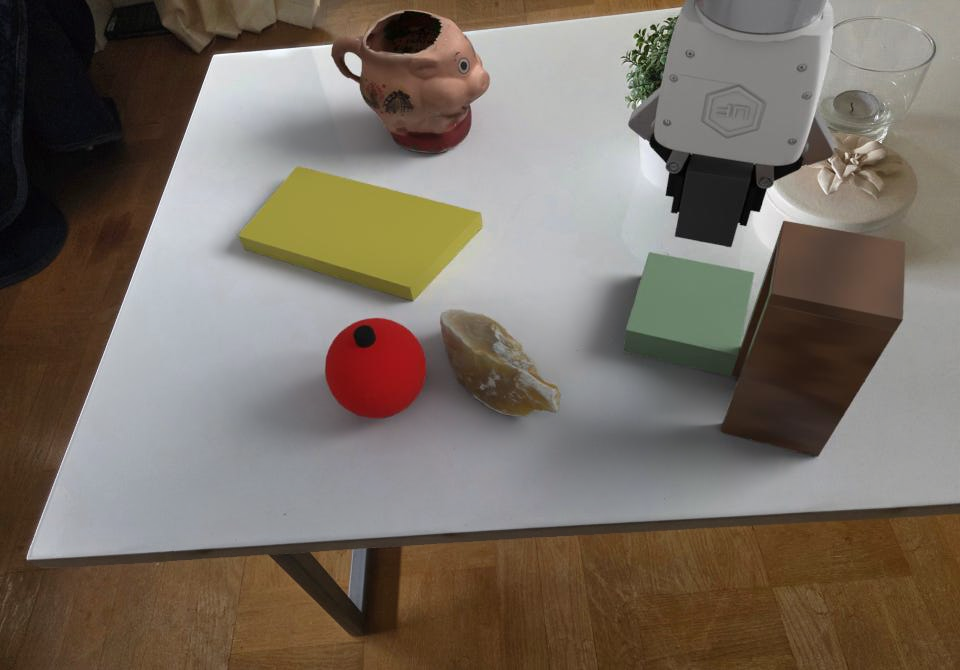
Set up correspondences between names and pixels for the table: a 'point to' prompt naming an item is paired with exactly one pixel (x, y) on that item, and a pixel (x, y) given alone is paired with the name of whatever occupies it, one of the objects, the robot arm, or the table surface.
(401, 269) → the flat olive board
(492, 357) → the stone
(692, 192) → the block
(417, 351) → the ornament
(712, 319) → the sage green square slab
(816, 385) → the tall brown wooden block
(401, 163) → the table surface
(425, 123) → the face mug
